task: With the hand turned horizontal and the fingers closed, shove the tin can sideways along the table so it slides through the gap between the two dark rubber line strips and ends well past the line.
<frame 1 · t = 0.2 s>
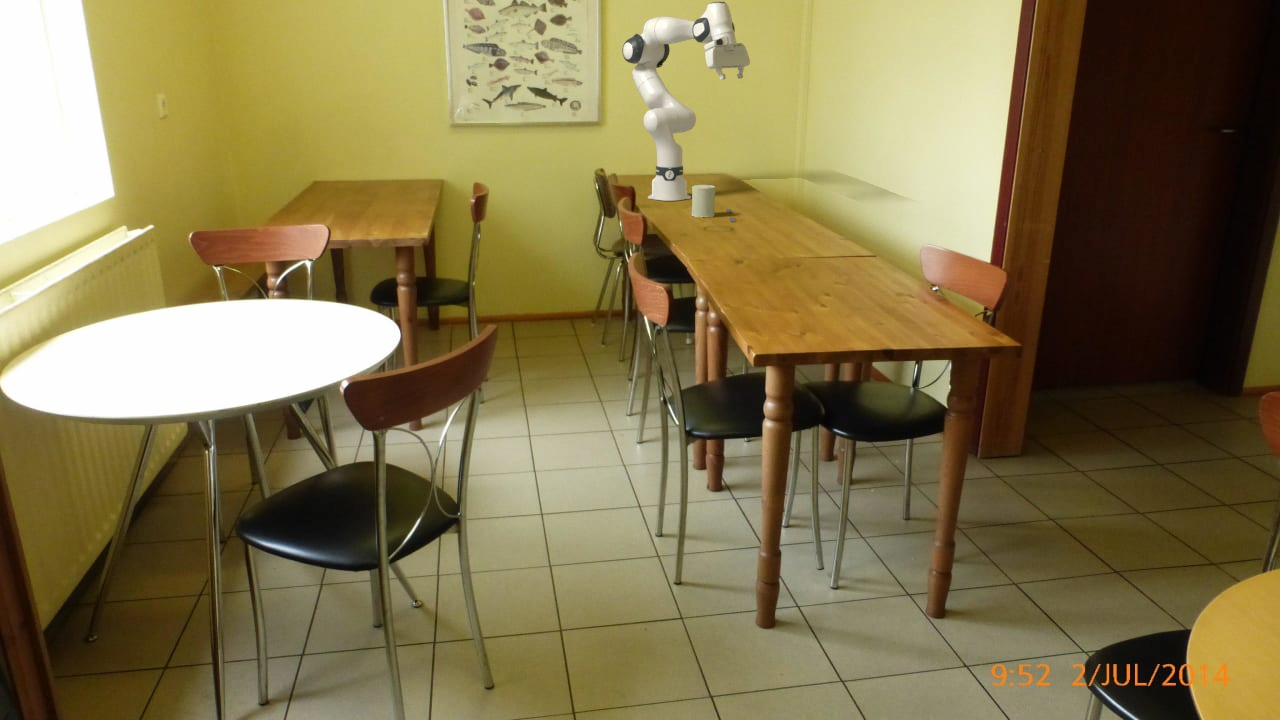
hand: (731, 78, 367), 52 cm above the table, tool tilted 20°, fingers open, 8 cm apart
line strip 1: (729, 211, 380), on the table
line strip 2: (732, 220, 360), on the table
can: (703, 216, 370), on the table
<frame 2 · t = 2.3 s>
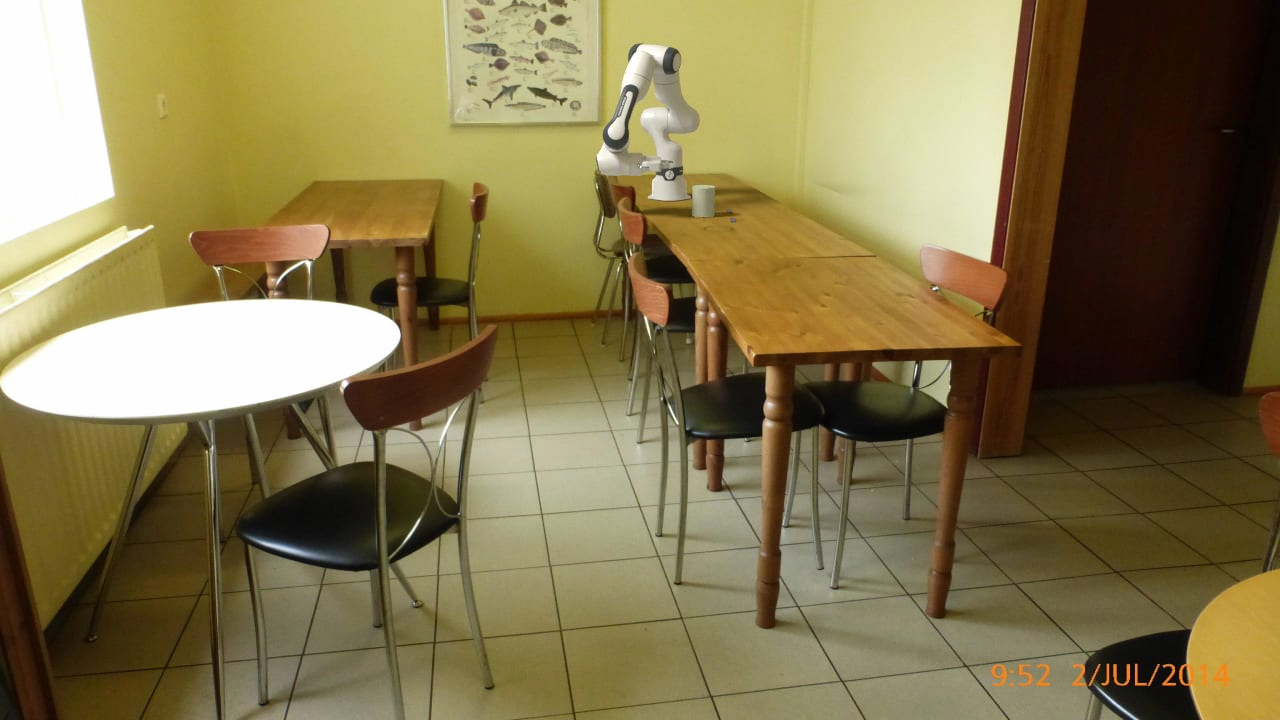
hand: (673, 164, 364), 20 cm above the table, tool horizontal, fingers open, 6 cm apart
nothing on the table moved.
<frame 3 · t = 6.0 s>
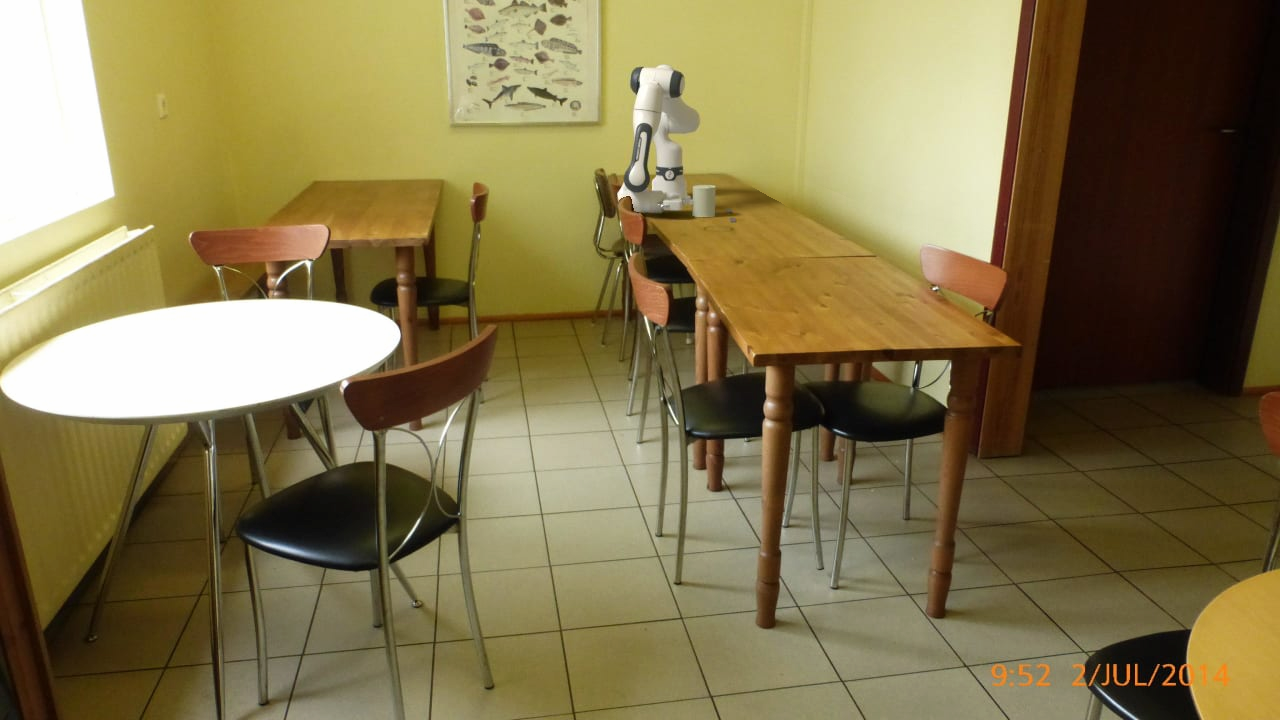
hand: (693, 201, 368), 5 cm above the table, tool horizontal, fingers closed
can: (703, 216, 370), on the table, touching gripper
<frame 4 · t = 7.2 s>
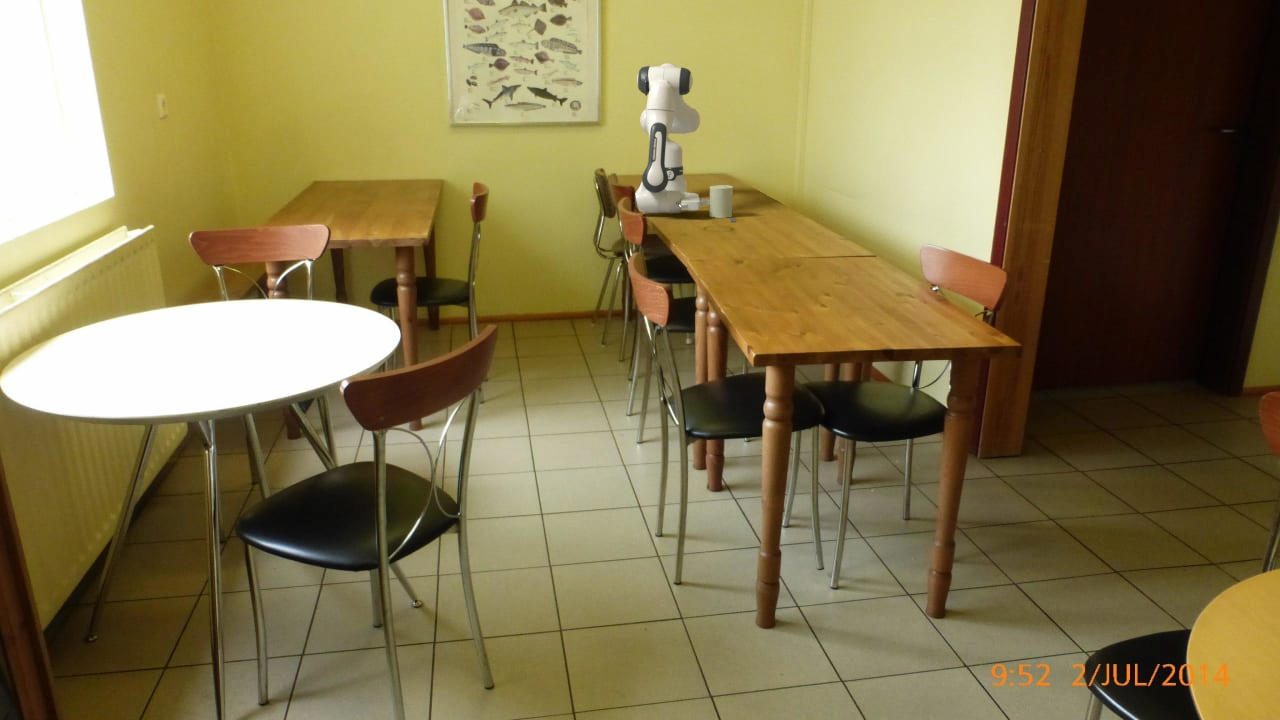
hand: (711, 201, 368), 5 cm above the table, tool horizontal, fingers closed
can: (720, 216, 369), on the table, touching gripper
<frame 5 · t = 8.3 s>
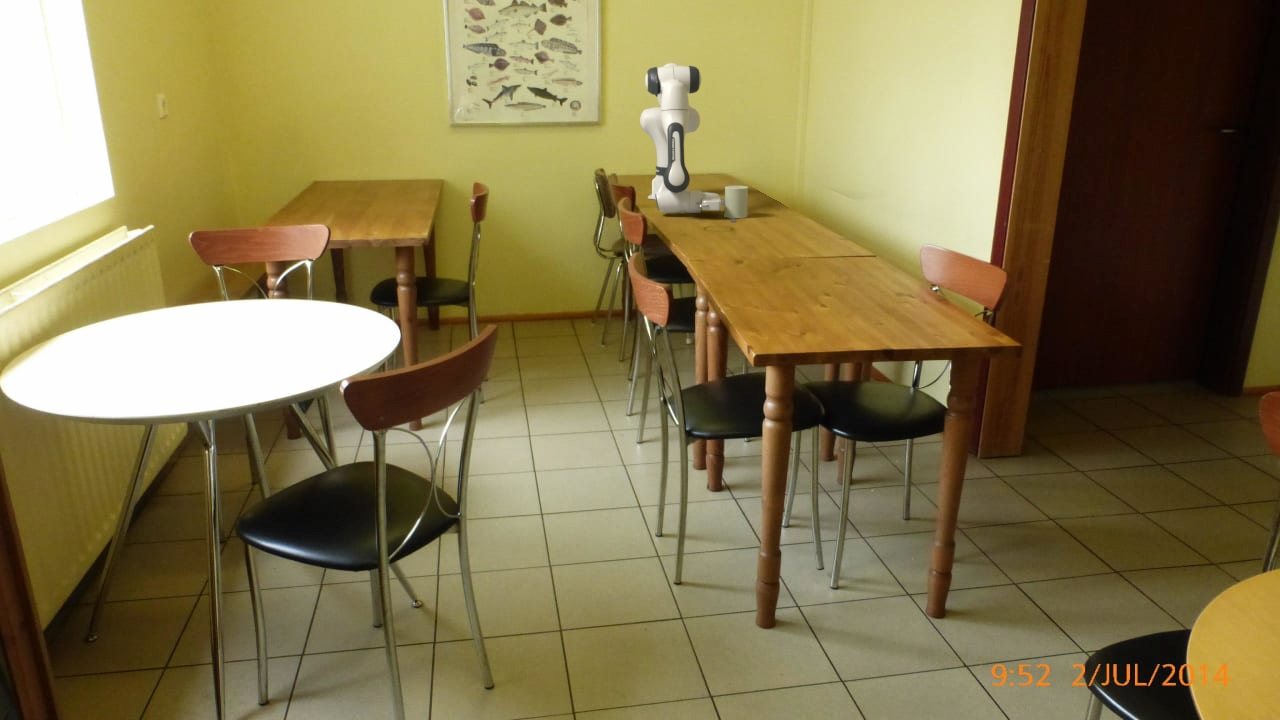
hand: (731, 201, 368), 6 cm above the table, tool horizontal, fingers closed, pressing on can
can: (735, 217, 368), on the table, touching gripper
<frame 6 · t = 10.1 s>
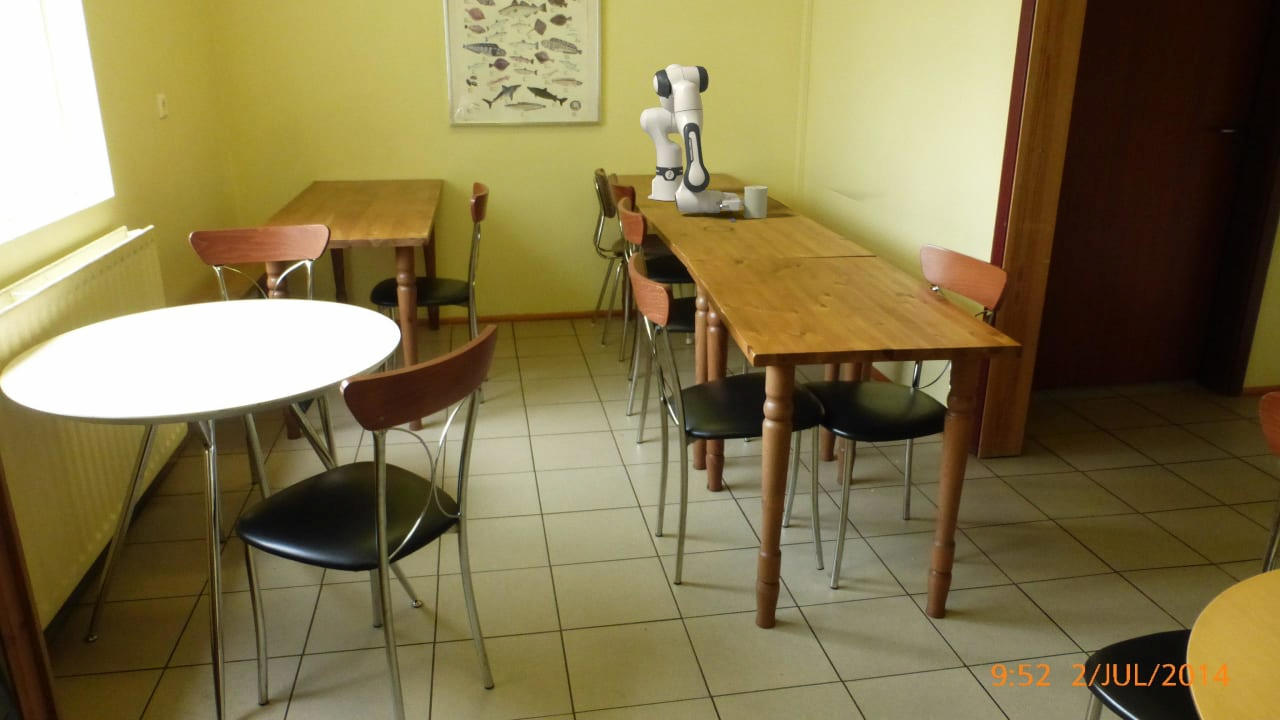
hand: (751, 201, 368), 6 cm above the table, tool horizontal, fingers closed
can: (754, 217, 368), on the table, touching gripper
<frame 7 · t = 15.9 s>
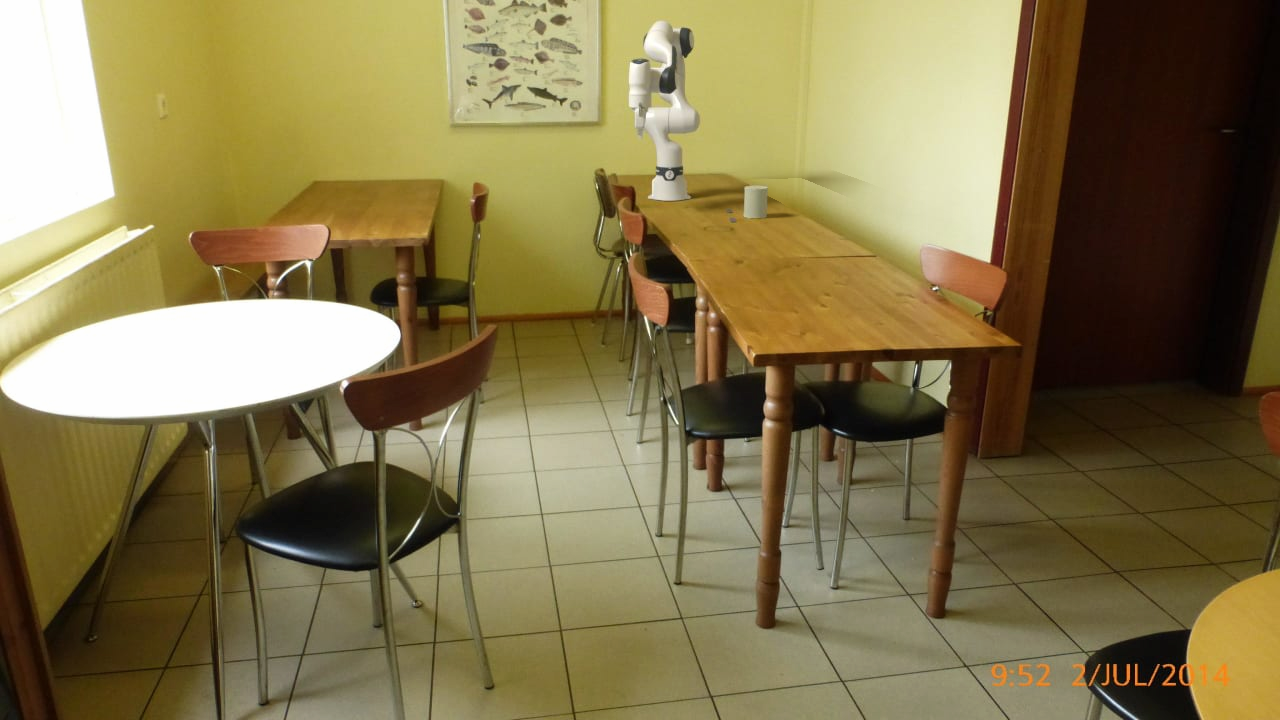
hand: (640, 138, 368), 29 cm above the table, tool pointing down, fingers closed
can: (755, 217, 368), on the table
at the end: can inside the target area (9.6 cm from its centre), on the table; can tilted 0°; can touching table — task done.
